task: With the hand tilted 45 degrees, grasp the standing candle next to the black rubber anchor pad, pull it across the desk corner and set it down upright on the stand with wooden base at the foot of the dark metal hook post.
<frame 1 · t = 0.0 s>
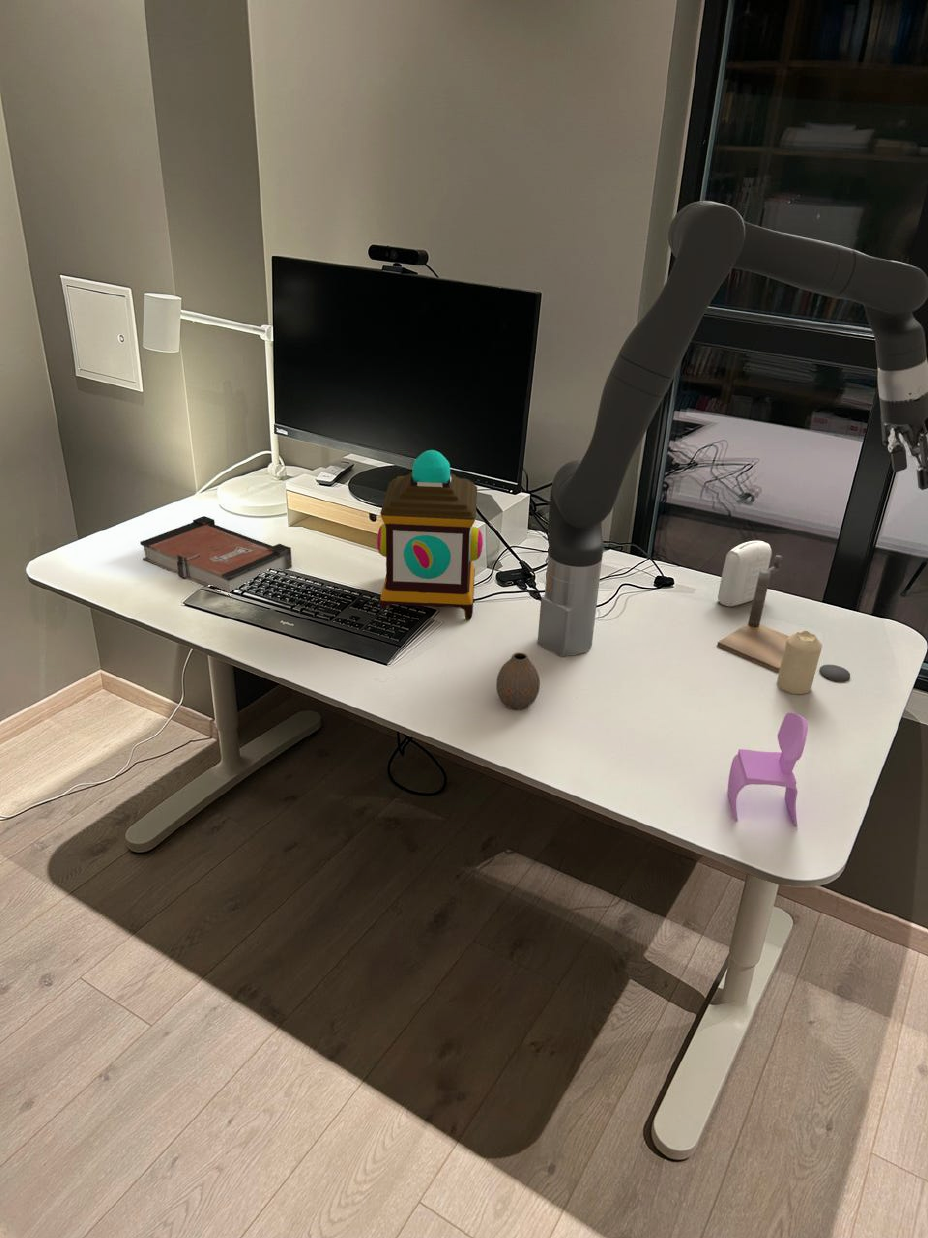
hand: (912, 478, 152), 31 cm above the table, tool tilted 20°, fingers open, 8 cm apart
book: (216, 567, 186), on the table
vase: (516, 703, 144), on the table
toy chair: (759, 809, 124), on the table
decorative lantern: (428, 599, 175), on the table
stand with wooden base: (763, 647, 163), on the table
photo printer: (739, 600, 180), on the table
candle: (793, 686, 152), on the table
anchor pad: (834, 674, 156), on the table
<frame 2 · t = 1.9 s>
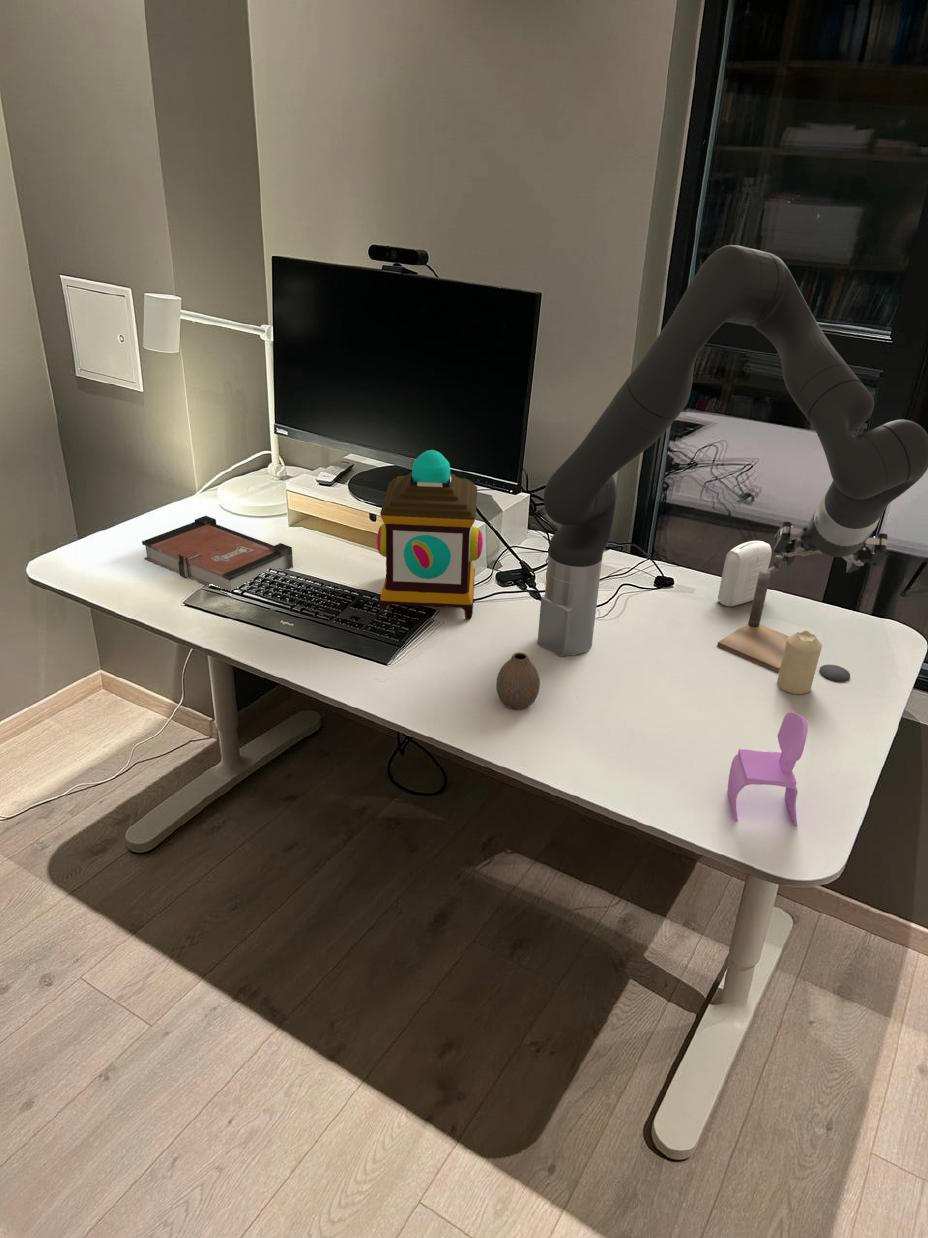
hand: (818, 562, 132), 26 cm above the table, tool tilted 45°, fingers open, 8 cm apart
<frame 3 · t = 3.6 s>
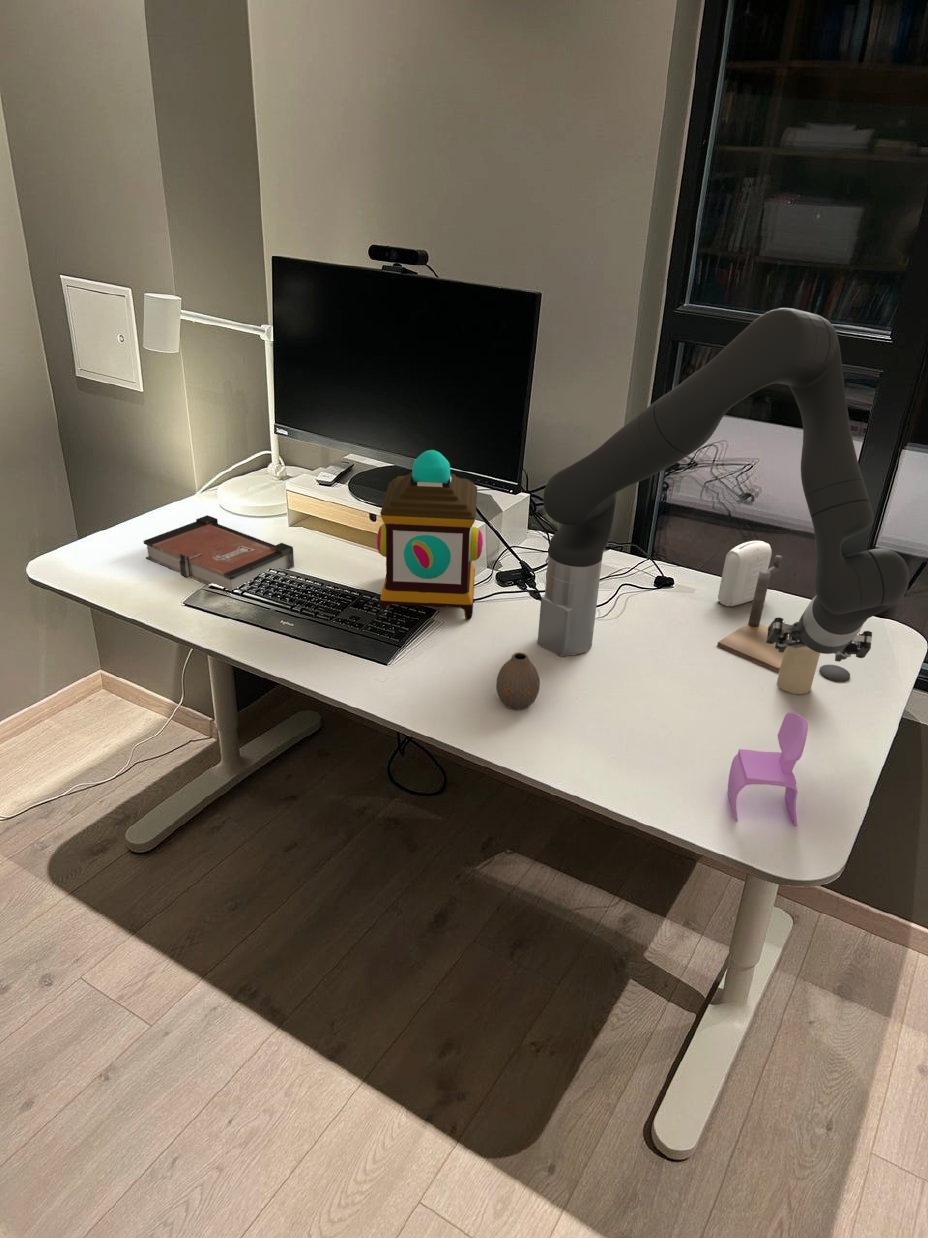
hand: (809, 650, 141), 10 cm above the table, tool tilted 45°, fingers open, 8 cm apart
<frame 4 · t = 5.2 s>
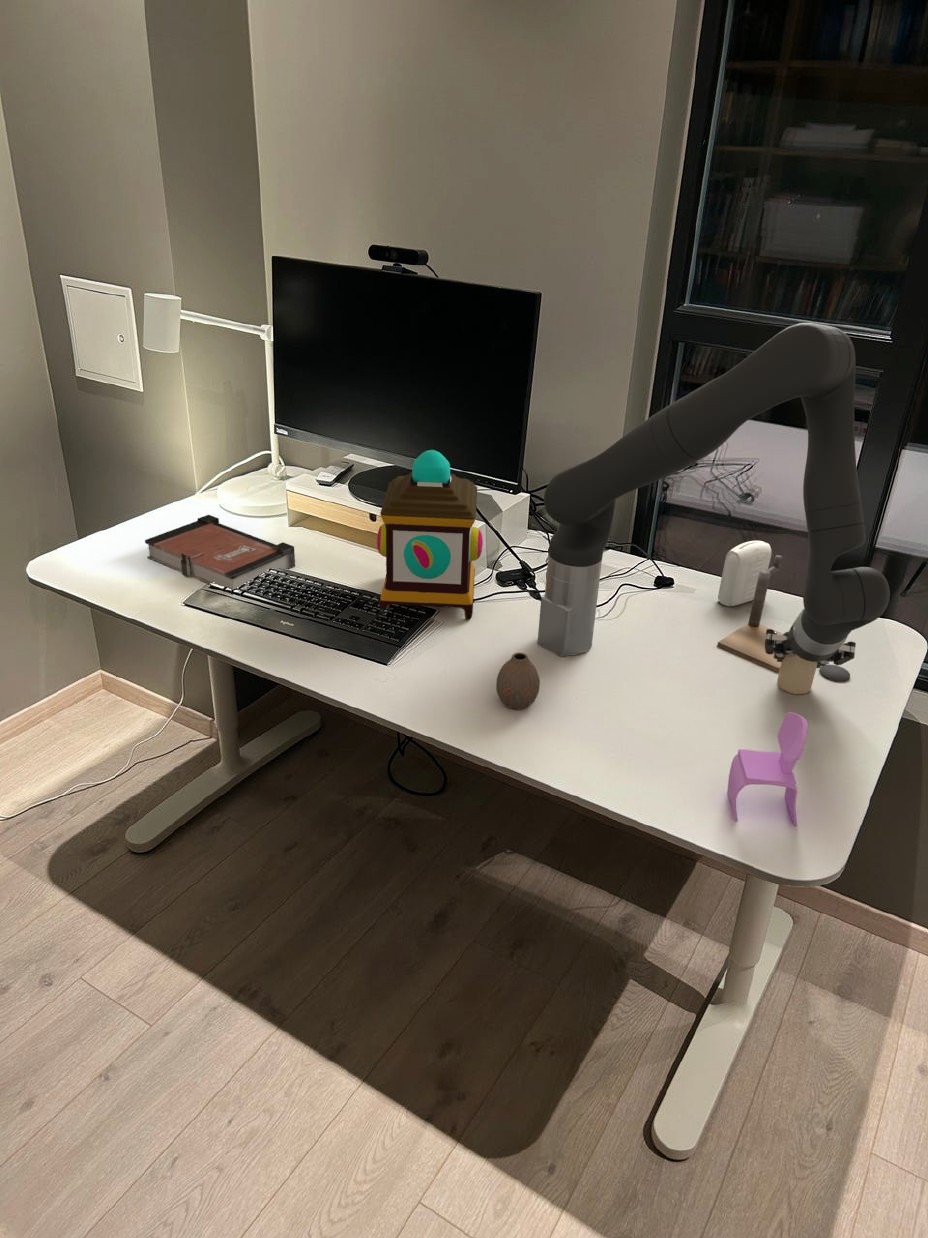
hand: (798, 659, 151), 4 cm above the table, tool tilted 45°, fingers closed on candle, 5 cm apart
candle: (793, 686, 152), on the table, touching gripper
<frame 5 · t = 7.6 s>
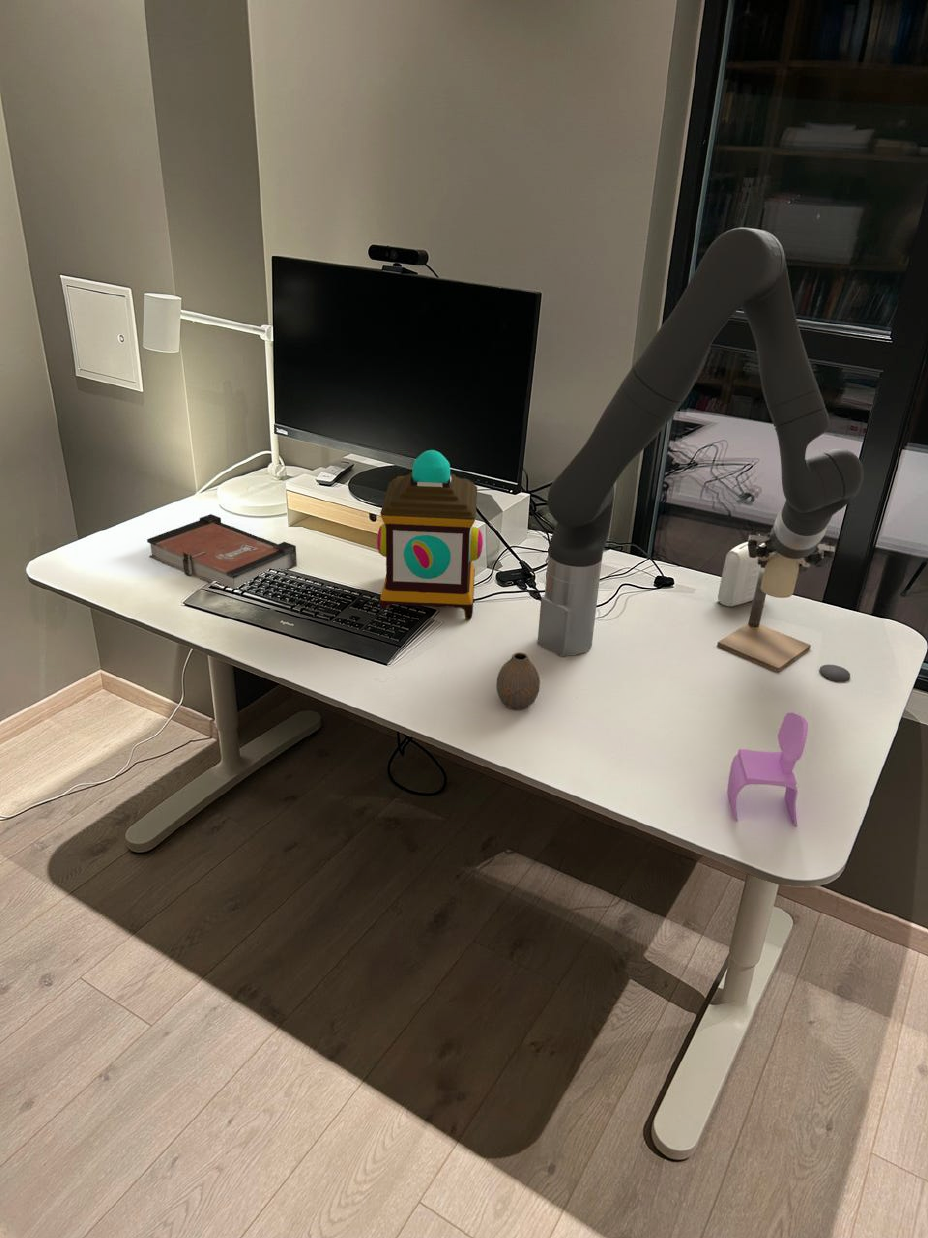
hand: (781, 565, 157), 16 cm above the table, tool tilted 45°, fingers closed on candle, 5 cm apart
candle: (776, 592, 157), point 11 cm above the table, touching gripper
when the fingers open (6 cm above the table, at t = 10.0 s): candle stays where it is, resting on stand with wooden base.
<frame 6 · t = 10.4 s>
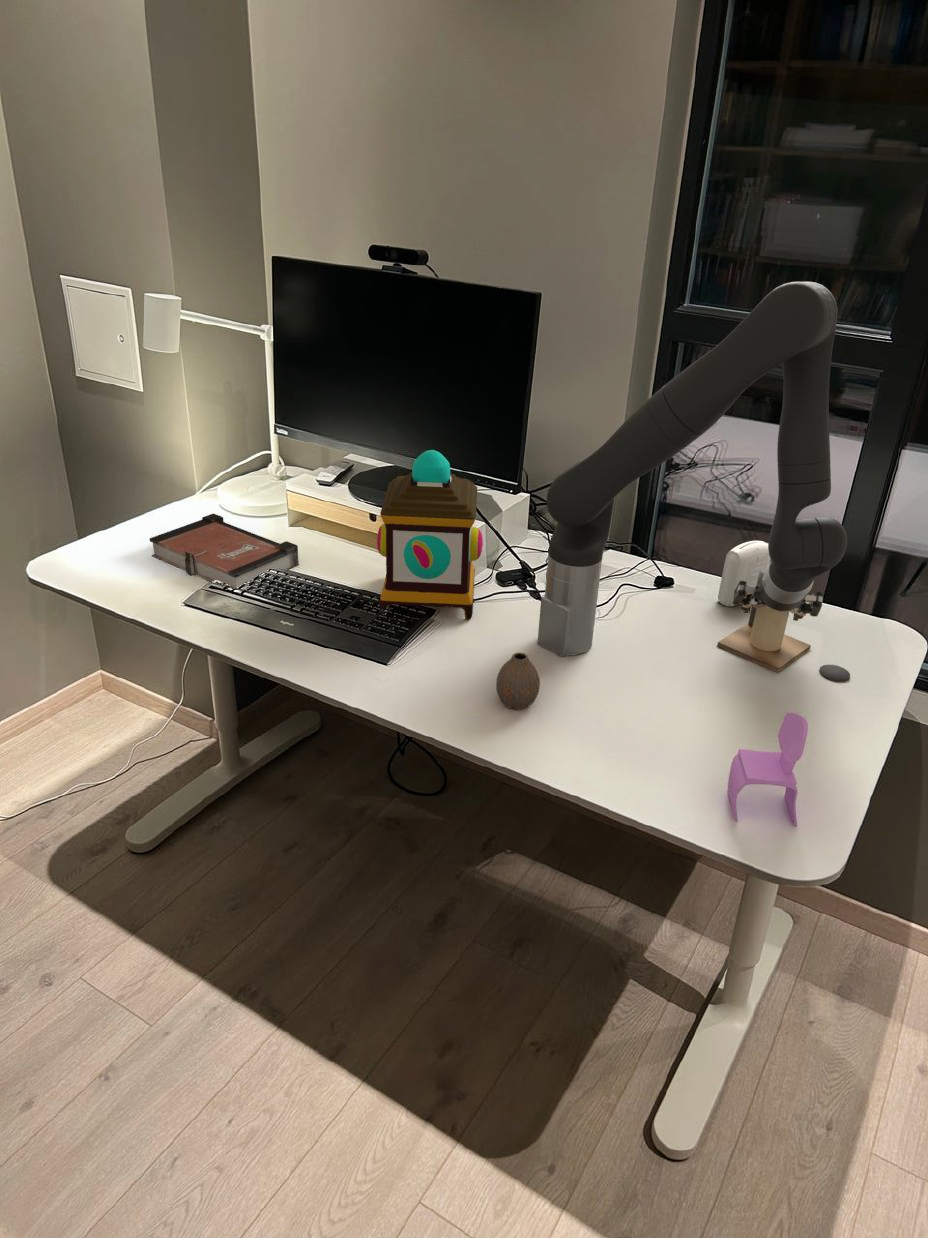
hand: (770, 611, 161), 7 cm above the table, tool tilted 45°, fingers open, 8 cm apart
candle: (764, 645, 162), point 1 cm above the table, touching stand with wooden base
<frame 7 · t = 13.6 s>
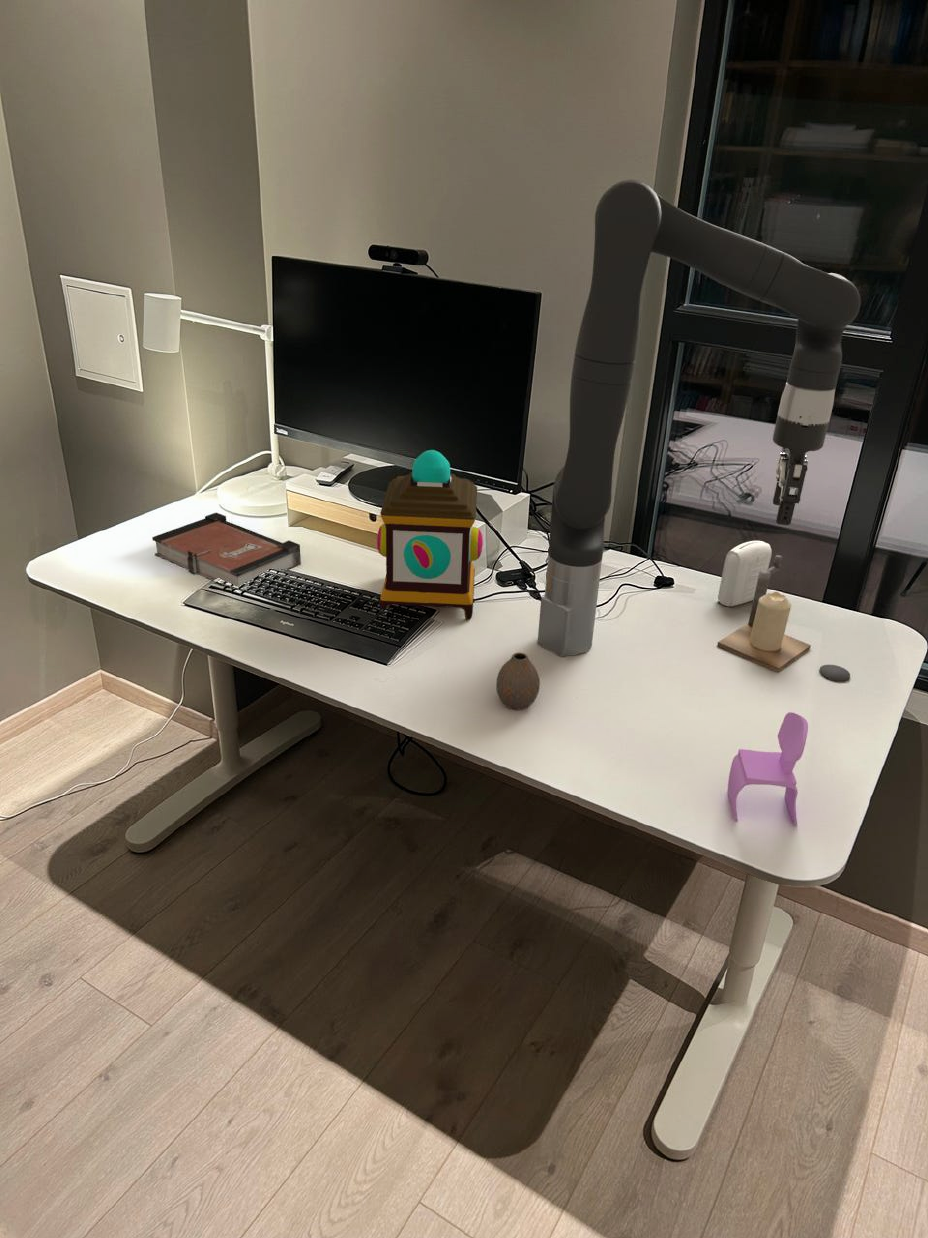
hand: (780, 514, 144), 28 cm above the table, tool pointing down, fingers open, 8 cm apart
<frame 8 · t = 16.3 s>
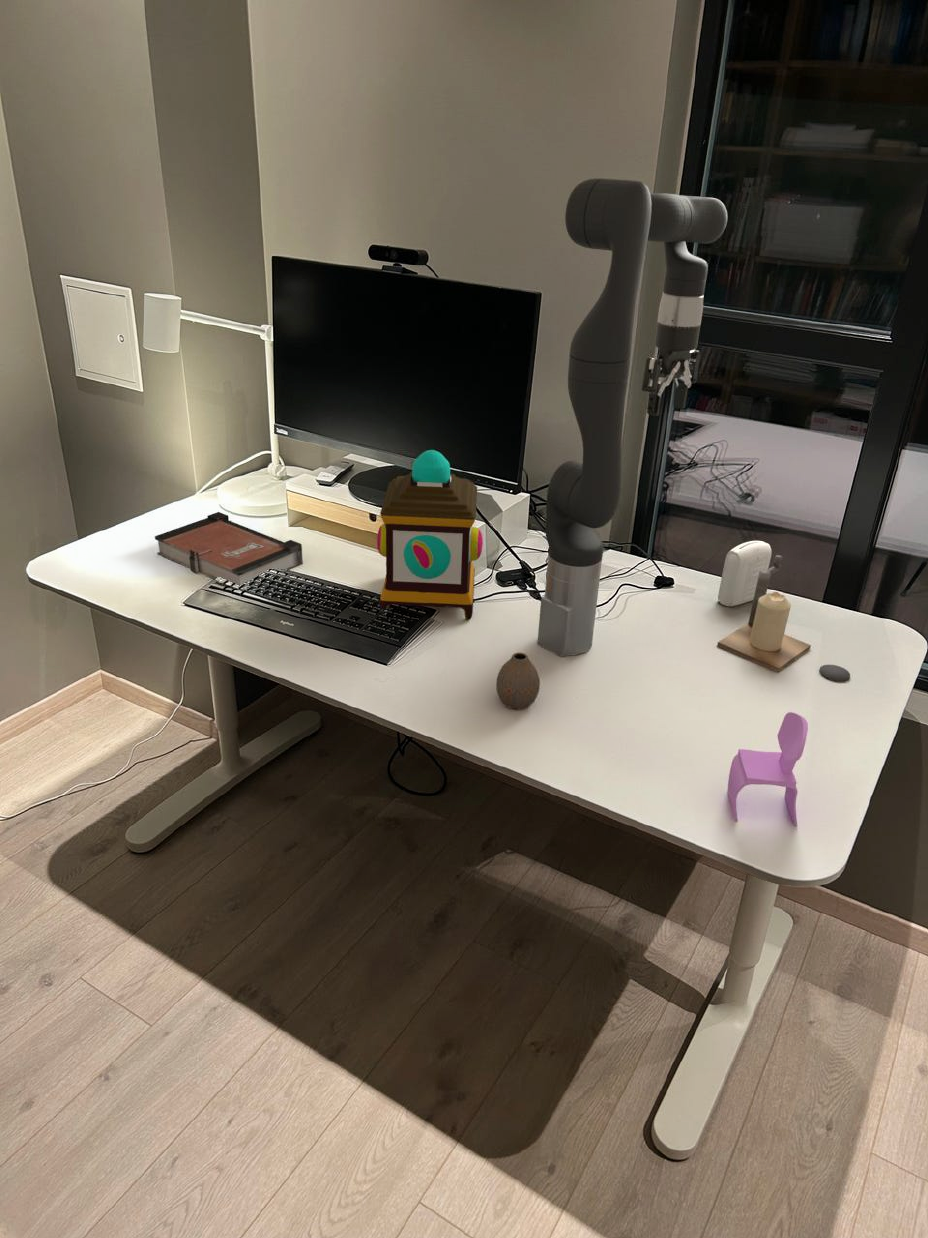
hand: (666, 411, 166), 36 cm above the table, tool pointing down, fingers open, 8 cm apart
at the end: candle inside the target area on the stand with wooden base (0.2 cm from its centre), point 0.6 cm above the stand with wooden base's base; candle tilted 0°; the gripper is holding nothing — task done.
